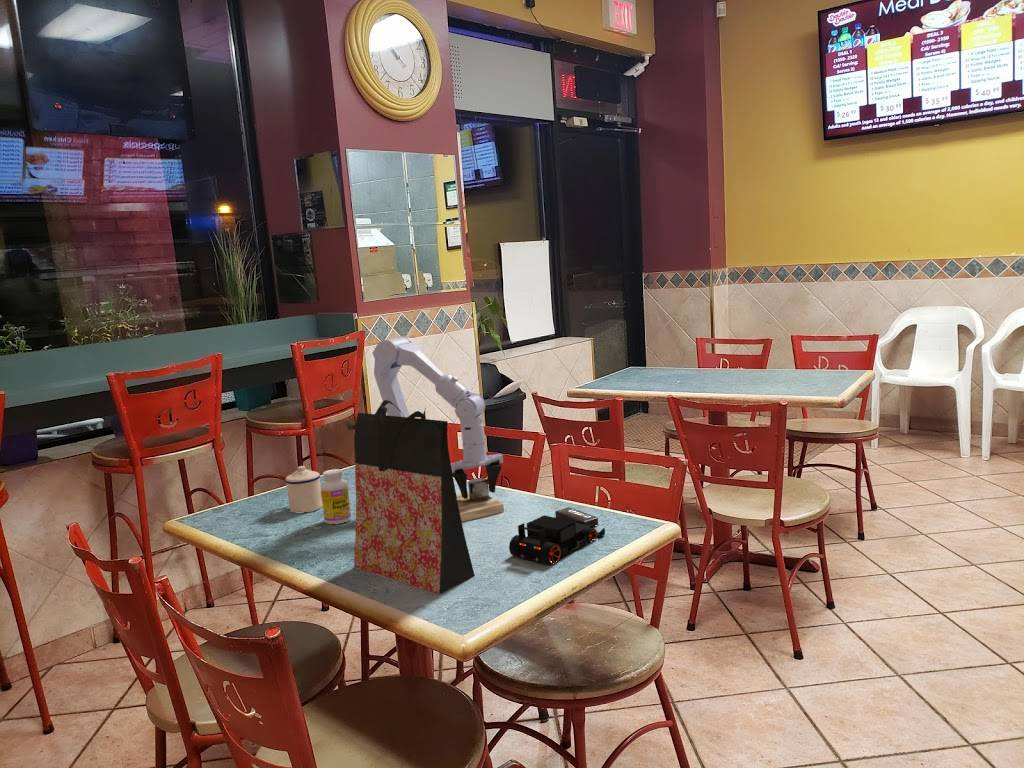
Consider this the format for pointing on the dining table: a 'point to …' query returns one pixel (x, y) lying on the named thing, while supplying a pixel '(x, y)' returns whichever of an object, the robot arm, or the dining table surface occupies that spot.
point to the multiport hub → (577, 516)
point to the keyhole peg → (478, 489)
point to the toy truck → (551, 539)
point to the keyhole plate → (477, 507)
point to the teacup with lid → (304, 490)
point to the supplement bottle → (335, 497)
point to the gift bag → (407, 502)
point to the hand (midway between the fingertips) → (478, 494)
